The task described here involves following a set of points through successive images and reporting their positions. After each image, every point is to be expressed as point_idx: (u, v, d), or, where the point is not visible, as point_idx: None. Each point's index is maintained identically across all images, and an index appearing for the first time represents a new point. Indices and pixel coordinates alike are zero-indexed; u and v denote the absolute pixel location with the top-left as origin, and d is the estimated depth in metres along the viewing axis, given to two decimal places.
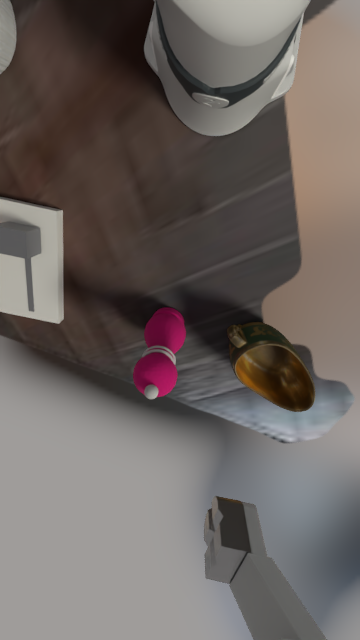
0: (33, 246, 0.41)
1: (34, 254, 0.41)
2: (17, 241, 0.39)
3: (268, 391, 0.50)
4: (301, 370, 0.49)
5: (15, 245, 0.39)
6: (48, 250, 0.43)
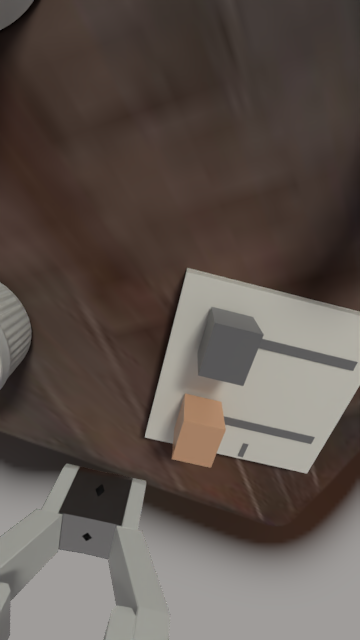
0: (241, 321, 0.22)
1: (255, 324, 0.23)
2: (230, 341, 0.21)
3: None
4: None
5: (236, 347, 0.21)
6: (250, 305, 0.24)
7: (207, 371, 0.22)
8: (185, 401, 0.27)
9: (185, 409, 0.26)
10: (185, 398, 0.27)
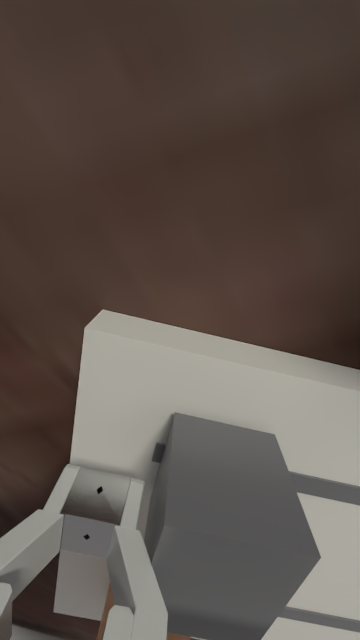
0: (247, 477, 0.08)
1: (285, 482, 0.08)
2: (216, 567, 0.07)
3: None
4: None
5: (235, 580, 0.07)
6: (246, 402, 0.10)
7: None
8: (110, 590, 0.13)
9: (102, 627, 0.11)
10: None
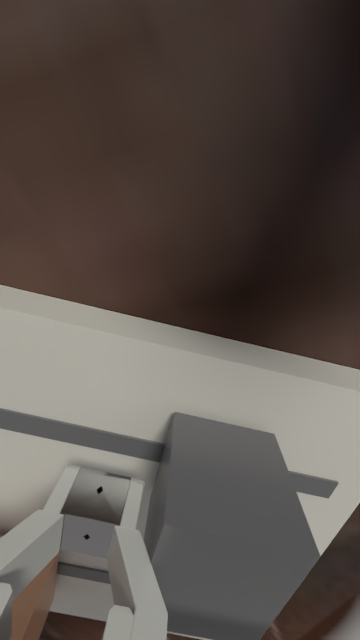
0: (247, 477, 0.08)
1: (285, 481, 0.08)
2: (215, 566, 0.07)
3: None
4: None
5: (234, 579, 0.07)
6: (67, 361, 0.10)
7: None
8: None
9: None
10: None
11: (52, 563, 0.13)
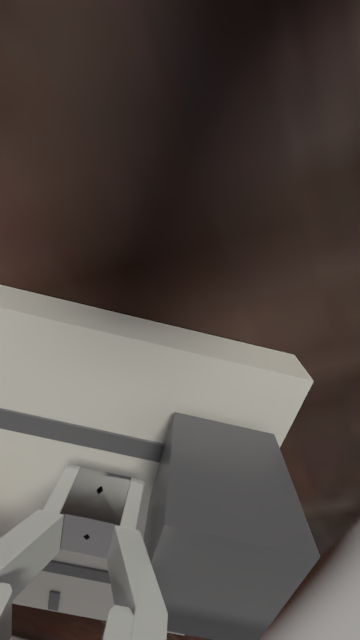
0: (246, 477, 0.08)
1: (285, 481, 0.08)
2: (215, 567, 0.07)
3: None
4: None
5: (234, 579, 0.07)
6: None
7: None
8: None
9: None
10: None
11: None
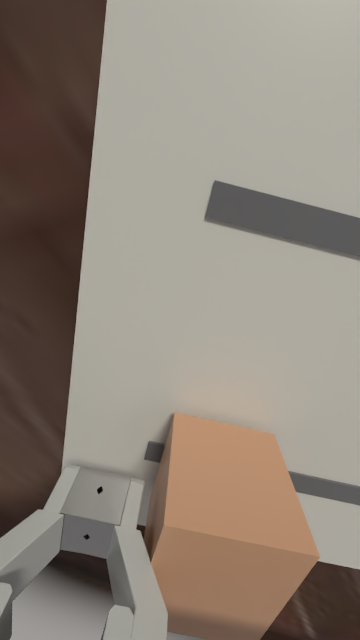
0: None
1: None
2: None
3: None
4: None
5: None
6: None
7: None
8: (174, 438, 0.09)
9: (172, 470, 0.08)
10: (175, 428, 0.09)
11: (278, 449, 0.10)
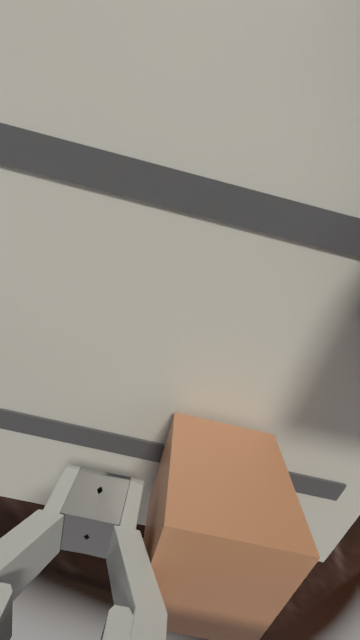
0: None
1: None
2: None
3: None
4: None
5: None
6: (117, 9, 0.06)
7: None
8: (174, 438, 0.09)
9: (173, 470, 0.08)
10: (175, 428, 0.09)
11: (278, 450, 0.10)
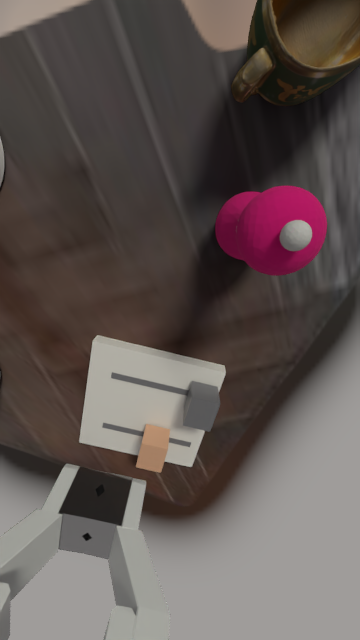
0: (208, 393, 0.38)
1: (217, 394, 0.38)
2: (201, 407, 0.36)
3: None
4: None
5: (204, 410, 0.36)
6: (134, 360, 0.39)
7: (188, 423, 0.37)
8: (145, 430, 0.42)
9: (144, 435, 0.41)
10: (145, 427, 0.42)
11: (169, 432, 0.42)
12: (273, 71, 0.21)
